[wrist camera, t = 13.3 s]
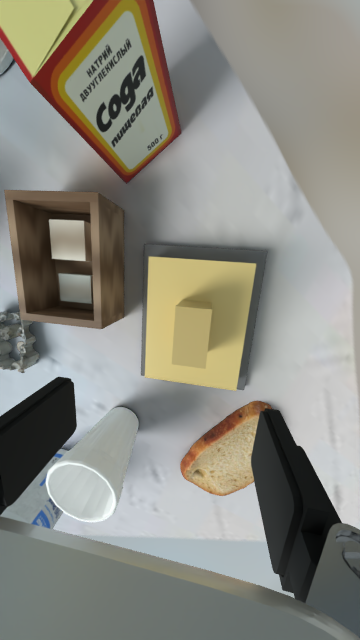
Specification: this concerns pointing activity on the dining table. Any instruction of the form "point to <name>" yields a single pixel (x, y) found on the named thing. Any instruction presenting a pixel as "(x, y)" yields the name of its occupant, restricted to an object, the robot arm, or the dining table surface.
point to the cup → (95, 468)
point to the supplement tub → (36, 501)
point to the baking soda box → (98, 72)
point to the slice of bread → (225, 453)
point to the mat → (211, 255)
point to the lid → (197, 320)
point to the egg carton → (27, 353)
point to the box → (67, 257)
